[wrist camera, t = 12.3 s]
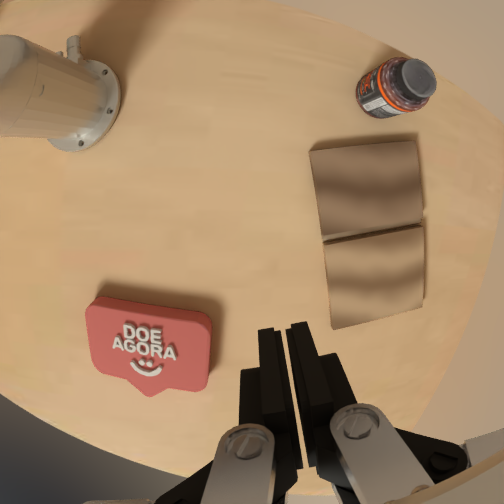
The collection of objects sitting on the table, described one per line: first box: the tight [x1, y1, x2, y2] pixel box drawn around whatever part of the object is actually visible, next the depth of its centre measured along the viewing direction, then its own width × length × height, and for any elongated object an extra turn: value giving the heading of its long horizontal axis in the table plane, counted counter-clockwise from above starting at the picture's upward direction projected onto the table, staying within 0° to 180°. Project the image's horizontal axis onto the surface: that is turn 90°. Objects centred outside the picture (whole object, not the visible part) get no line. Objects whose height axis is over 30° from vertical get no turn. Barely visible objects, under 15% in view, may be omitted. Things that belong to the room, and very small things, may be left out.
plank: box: [323, 225, 424, 330], centre depth 38 cm, size 12×14×1 cm
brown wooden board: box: [309, 141, 423, 241], centre depth 34 cm, size 11×14×1 cm
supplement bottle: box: [356, 57, 436, 119], centre depth 26 cm, size 6×6×11 cm
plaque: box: [85, 296, 212, 397], centre depth 40 cm, size 18×4×15 cm
